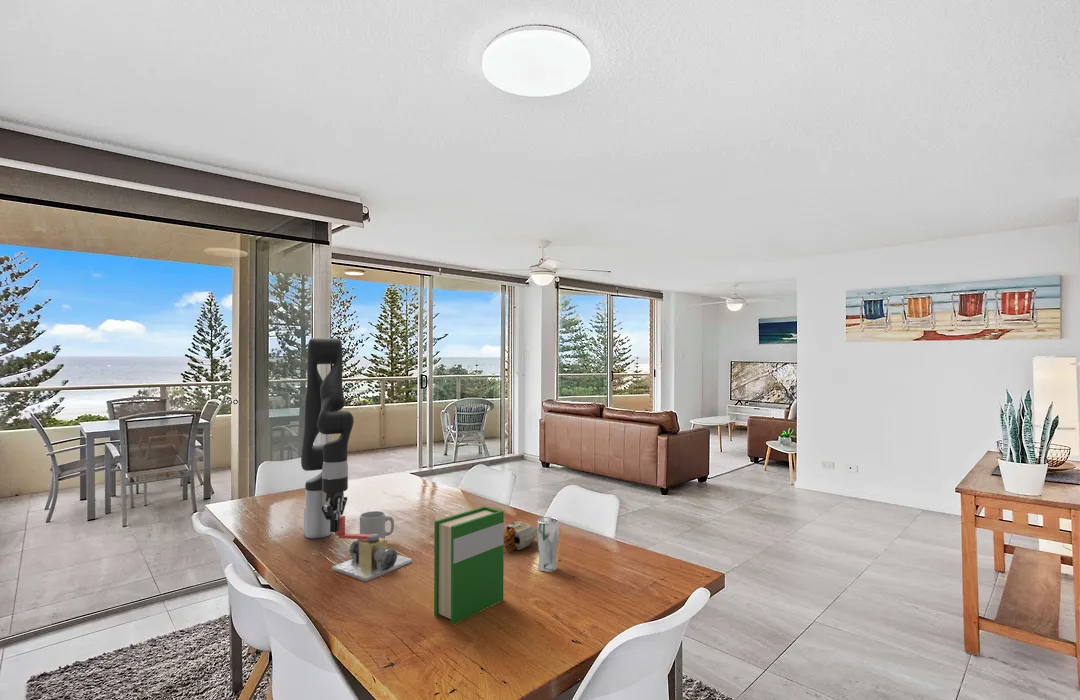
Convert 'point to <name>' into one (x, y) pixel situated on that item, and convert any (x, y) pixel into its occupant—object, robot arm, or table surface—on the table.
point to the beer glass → (547, 543)
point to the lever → (353, 536)
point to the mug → (375, 523)
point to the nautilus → (518, 535)
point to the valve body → (371, 560)
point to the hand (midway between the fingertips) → (334, 531)
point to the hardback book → (468, 563)
